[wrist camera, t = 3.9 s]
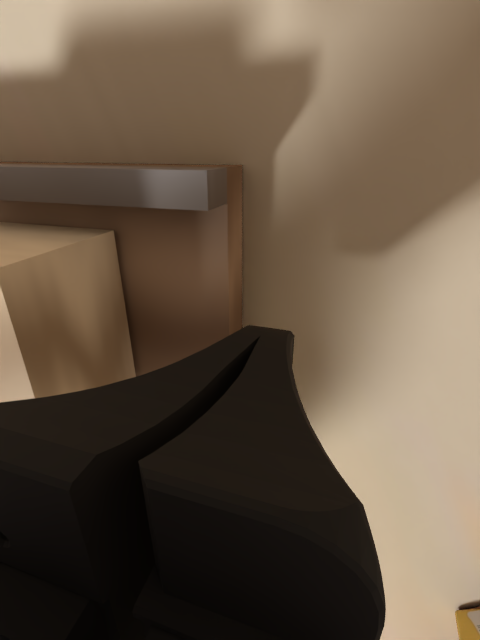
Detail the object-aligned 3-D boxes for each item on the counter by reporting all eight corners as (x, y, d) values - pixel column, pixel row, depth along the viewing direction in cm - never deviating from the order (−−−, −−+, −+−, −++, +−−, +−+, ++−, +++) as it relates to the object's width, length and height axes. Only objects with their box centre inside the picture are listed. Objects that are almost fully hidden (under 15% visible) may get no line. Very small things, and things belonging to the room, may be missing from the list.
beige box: (136, 377, 15) (53, 459, 11) (21, 354, 16) (-85, 418, 13) (113, 230, 12) (-5, 269, 8) (-20, 220, 14) (-170, 249, 10)
